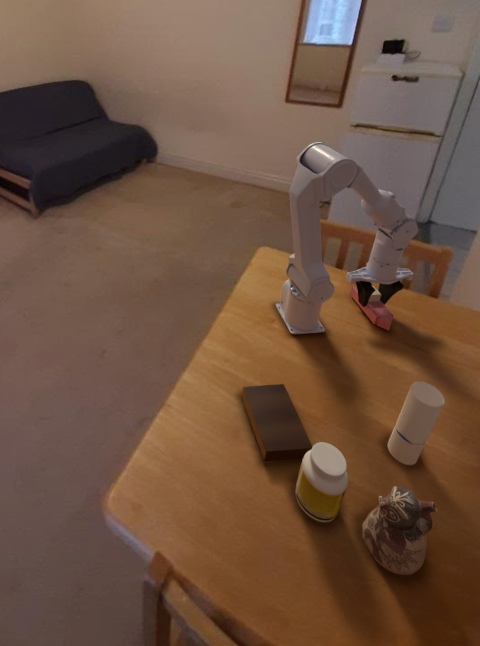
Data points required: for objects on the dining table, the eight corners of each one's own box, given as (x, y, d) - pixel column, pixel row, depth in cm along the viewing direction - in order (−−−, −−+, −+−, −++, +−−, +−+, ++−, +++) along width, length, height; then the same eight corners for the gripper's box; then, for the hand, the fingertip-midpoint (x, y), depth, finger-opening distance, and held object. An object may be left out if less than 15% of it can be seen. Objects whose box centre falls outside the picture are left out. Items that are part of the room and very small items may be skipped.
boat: (349, 294, 102) (353, 279, 100) (365, 293, 103) (369, 278, 101) (379, 331, 92) (384, 316, 90) (396, 330, 92) (402, 314, 90)
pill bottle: (342, 528, 60) (359, 486, 55) (298, 519, 61) (310, 477, 56) (331, 482, 65) (345, 440, 61) (291, 474, 67) (301, 433, 62)
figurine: (361, 505, 62) (380, 459, 57) (416, 529, 59) (441, 483, 54) (363, 559, 57) (384, 513, 51) (424, 588, 54) (452, 544, 48)
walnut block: (241, 396, 79) (242, 386, 78) (281, 393, 80) (283, 383, 78) (264, 462, 69) (266, 451, 67) (310, 458, 69) (313, 448, 67)
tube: (413, 443, 70) (439, 385, 64) (420, 468, 67) (448, 410, 60) (384, 435, 72) (407, 378, 65) (390, 460, 68) (415, 402, 61)
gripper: (404, 245, 95) (389, 289, 101) (344, 249, 95) (333, 293, 101) (426, 264, 89) (409, 310, 95) (361, 268, 88) (348, 314, 94)
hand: (371, 303), depth 97 cm, fingers closed on boat, 4 cm apart
